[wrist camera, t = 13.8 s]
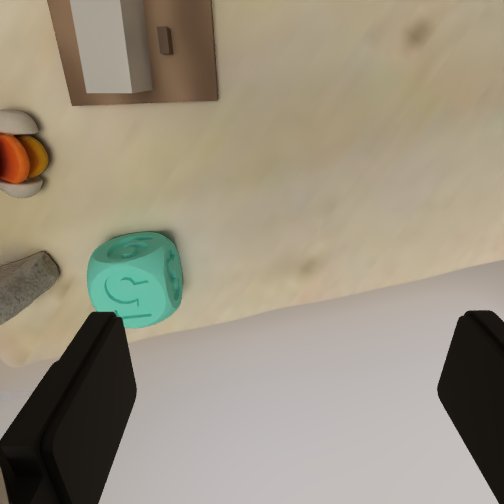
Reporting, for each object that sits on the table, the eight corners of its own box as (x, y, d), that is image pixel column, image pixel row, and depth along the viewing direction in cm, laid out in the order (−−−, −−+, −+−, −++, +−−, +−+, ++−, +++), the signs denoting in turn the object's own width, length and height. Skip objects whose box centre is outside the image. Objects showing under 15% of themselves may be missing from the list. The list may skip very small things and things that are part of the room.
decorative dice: (124, 292, 46) (101, 332, 39) (106, 235, 42) (77, 267, 35) (186, 286, 46) (174, 325, 38) (173, 227, 42) (158, 259, 35)
